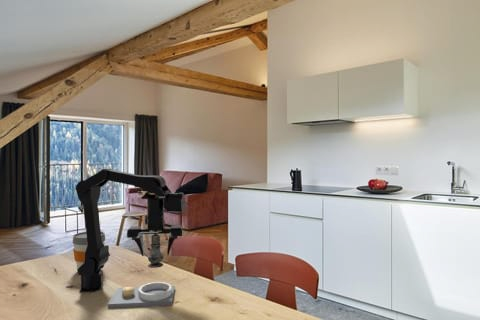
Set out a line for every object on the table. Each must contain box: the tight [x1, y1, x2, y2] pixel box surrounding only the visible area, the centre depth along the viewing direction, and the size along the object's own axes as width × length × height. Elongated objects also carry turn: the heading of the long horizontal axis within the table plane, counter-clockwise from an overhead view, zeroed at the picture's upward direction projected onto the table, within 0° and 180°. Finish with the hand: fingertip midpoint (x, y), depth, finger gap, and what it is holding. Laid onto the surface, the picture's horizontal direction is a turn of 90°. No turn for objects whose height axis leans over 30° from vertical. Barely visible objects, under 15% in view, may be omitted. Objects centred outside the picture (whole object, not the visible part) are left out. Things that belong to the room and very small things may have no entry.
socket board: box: [107, 281, 176, 309], centre depth 115 cm, size 20×13×3 cm, turn 97°
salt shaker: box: [146, 234, 165, 269], centre depth 120 cm, size 6×6×12 cm
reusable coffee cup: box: [72, 231, 106, 273], centre depth 142 cm, size 12×13×15 cm
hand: (155, 255), depth 120 cm, fingers closed on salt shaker, 8 cm apart
